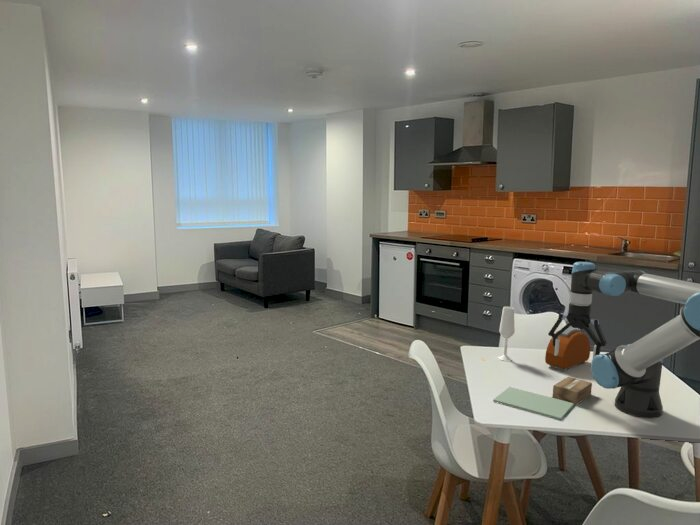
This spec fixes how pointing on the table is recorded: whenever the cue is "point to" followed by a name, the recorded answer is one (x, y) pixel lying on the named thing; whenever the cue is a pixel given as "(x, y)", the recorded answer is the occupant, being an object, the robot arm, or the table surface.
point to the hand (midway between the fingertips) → (574, 358)
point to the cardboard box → (572, 390)
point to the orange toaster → (568, 349)
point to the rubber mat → (534, 403)
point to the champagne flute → (507, 328)
